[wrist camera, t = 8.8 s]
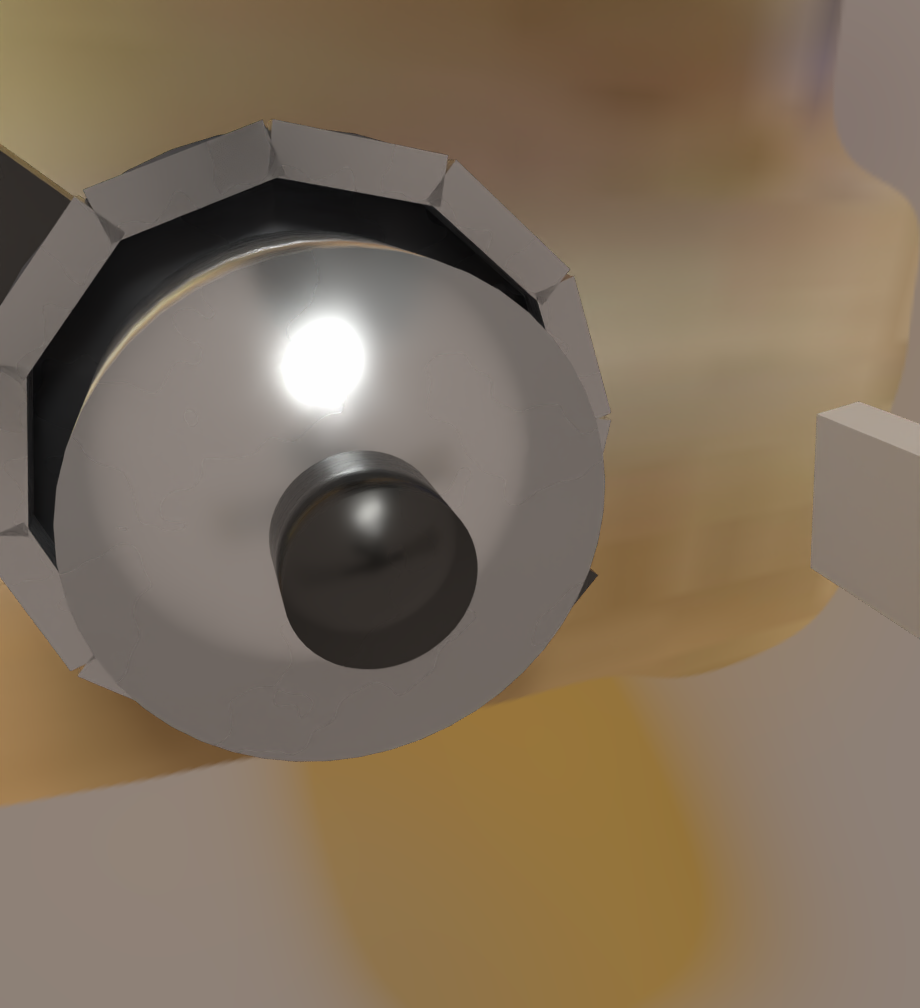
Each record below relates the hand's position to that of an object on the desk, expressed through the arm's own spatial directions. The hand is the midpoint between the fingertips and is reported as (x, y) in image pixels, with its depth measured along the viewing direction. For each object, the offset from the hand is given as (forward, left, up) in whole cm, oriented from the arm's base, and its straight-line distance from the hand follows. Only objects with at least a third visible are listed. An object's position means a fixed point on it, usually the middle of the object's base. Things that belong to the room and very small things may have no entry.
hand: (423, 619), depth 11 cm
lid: (0, 0, -8) cm, 8 cm away
